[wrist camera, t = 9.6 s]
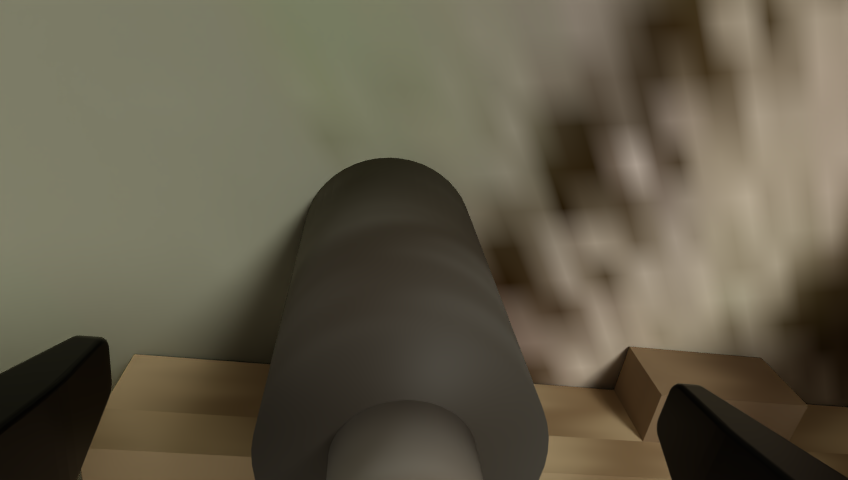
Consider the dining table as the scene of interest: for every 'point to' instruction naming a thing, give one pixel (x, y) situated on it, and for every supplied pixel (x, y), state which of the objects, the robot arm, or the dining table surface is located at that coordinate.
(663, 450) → the robot arm
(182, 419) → the wooden board
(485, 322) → the bottle
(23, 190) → the dining table surface
